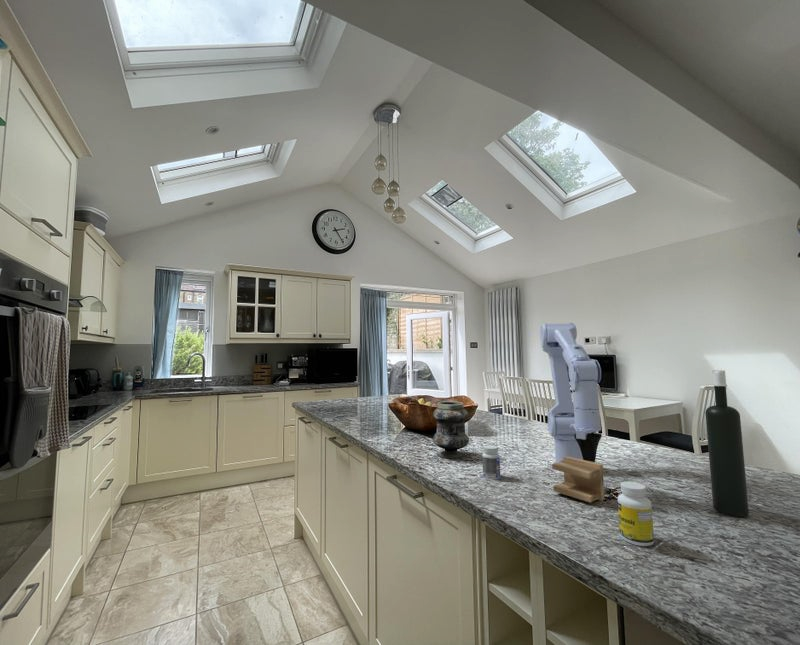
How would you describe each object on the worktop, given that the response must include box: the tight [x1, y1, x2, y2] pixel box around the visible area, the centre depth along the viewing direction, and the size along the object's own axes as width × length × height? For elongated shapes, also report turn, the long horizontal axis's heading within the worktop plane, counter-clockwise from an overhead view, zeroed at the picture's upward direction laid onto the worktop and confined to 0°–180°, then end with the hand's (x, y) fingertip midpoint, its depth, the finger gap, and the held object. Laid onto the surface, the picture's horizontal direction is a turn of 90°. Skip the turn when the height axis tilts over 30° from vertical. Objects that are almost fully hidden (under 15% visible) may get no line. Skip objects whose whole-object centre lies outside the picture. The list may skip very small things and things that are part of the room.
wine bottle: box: [704, 369, 750, 517], centre depth 81 cm, size 6×6×30 cm
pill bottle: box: [481, 444, 501, 481], centre depth 104 cm, size 5×5×8 cm
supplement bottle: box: [617, 481, 655, 547], centre depth 69 cm, size 5×5×10 cm
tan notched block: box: [551, 456, 605, 503], centre depth 89 cm, size 8×9×6 cm
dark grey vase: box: [432, 400, 470, 461], centre depth 125 cm, size 12×12×18 cm
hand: (589, 463), depth 93 cm, fingers closed
